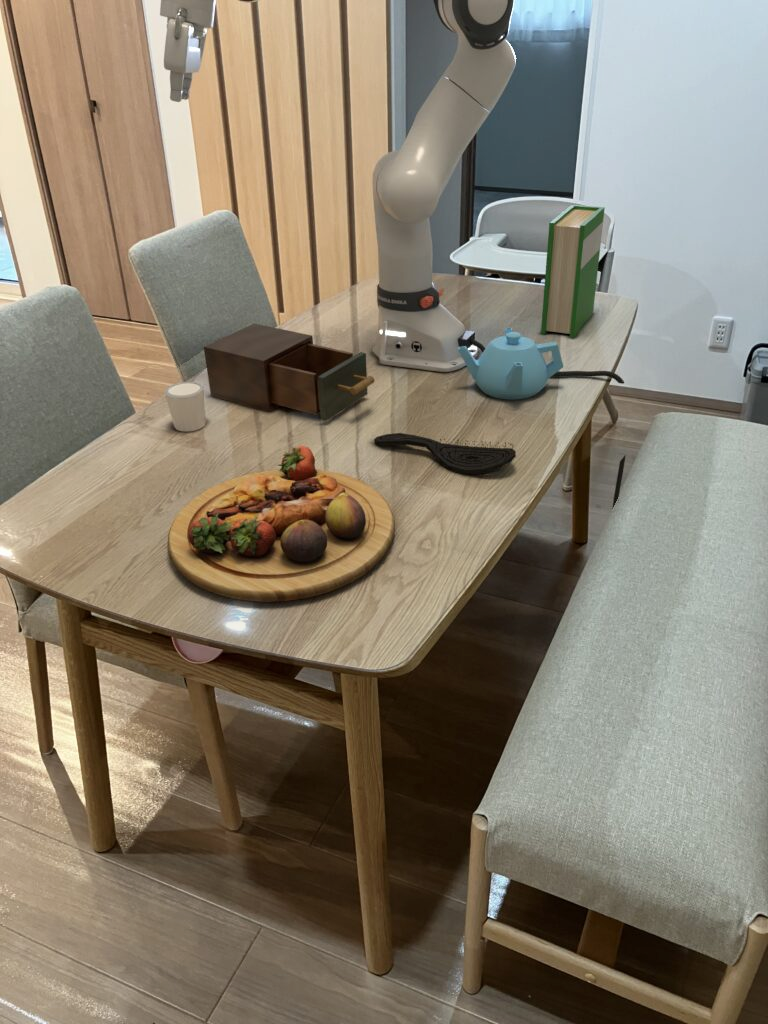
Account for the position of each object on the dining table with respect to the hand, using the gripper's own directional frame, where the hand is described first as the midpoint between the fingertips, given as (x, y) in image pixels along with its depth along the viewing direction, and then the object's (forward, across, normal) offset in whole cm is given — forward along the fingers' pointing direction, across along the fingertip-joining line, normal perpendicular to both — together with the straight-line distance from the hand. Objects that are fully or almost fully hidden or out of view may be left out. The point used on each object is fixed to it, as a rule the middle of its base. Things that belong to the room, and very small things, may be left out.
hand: (179, 100), depth 146 cm
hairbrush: (+42, -41, -53) cm, 79 cm away
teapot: (+36, -15, -68) cm, 79 cm away
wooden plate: (+49, -62, -28) cm, 84 cm away
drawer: (+44, -19, -34) cm, 59 cm away
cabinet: (+47, -10, -22) cm, 53 cm away
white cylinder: (+51, -24, -10) cm, 57 cm away
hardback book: (+29, +18, -88) cm, 94 cm away
